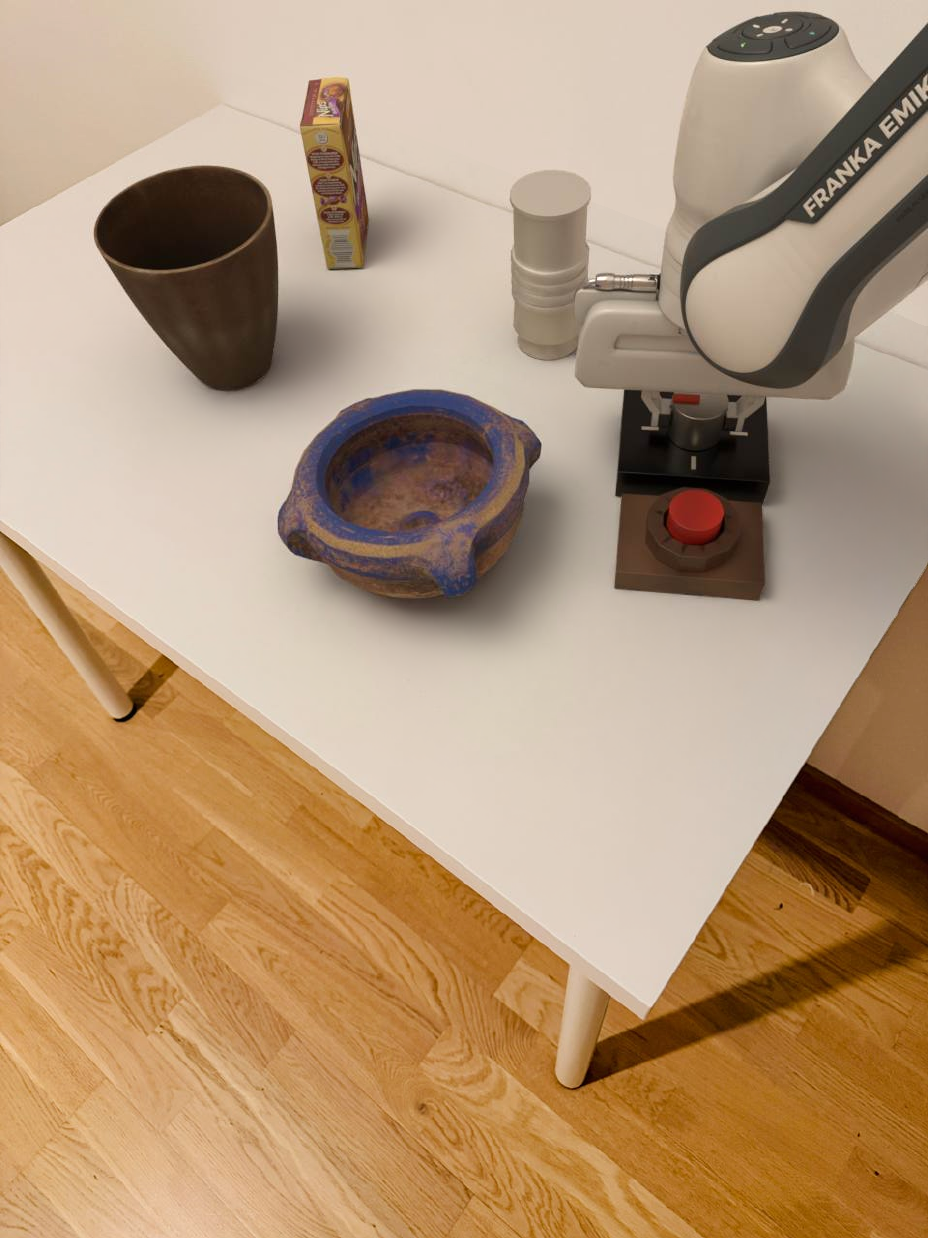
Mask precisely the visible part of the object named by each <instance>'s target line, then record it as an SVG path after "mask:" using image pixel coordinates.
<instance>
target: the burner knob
mask: <svg viewBox="0 0 928 1238" xmlns="http://www.w3.org/2000/svg"><path fill="white" fill-rule="evenodd" d="M727 408H728V397H727V395H720V394H700V393H681V392H674V394H673V397H672V403H671V417H670V423H669V428H667V433H668V436H669V438H670V440H671V441H672V442H673V443H674V444H676V445H677V446H679V447H681V448H683V449H686V450H692V451H701V450H706V449H709V448H711V447H713V446H714V445H715V444H716V443H717V442H718V441H719V440H720V437H721V434H722V429H723V425H724V421H725V416H726V412H727Z"/></svg>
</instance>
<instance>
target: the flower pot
mask: <svg viewBox="0 0 928 1238" xmlns="http://www.w3.org/2000/svg"><path fill="white" fill-rule="evenodd" d="M276 232H277V231H276V223H275V215H274V208H273V200H272V196H271V194H270V190H269V189H268V188H267V187H266V186H265V184H264V183H263V182H262V181H261V180H260V179H258V178H256V177H255V176H253V175H252V174H250V173H248V172H245V171H242V170H240V169H237V168H233V167H228V166H222V165H209V164H207V165H189V166H182V167H178V168H172V169H168V170H165V171H161V172H158V173H155V174H152V175H149V176H147V177H145V178H143V179H140V180H138V181H136V182H134V183H133V184H130V185H129V186H127V187H126V188H124V189H123V190H121V191H120V192H118V193H117V194H116V195H114V196H113V197H112V198H111V199H110V200H109V201H108V202H107V203H106V204H105V205H104V206H103V208H102V209H101V210H100V212H99V214H98V216H97V217H96V220H95V223H94V225H93V241H94V244H95V246H96V248H97V250H98V251H99V253H100V255H101V256H102V258H103V259H104V261H105V263H106V264H107V266H108V267H109V269H110V271H111V272H112V273H113V275H114V277H115V279H116V280H117V282H118V283H119V285H120V286H121V288H122V289H123V292H125V294H126V295H127V298H129V300H130V301H131V302H132V304H133V305H134V306H135V309H137V311H138V313H140V315H141V316H142V317H143V319H144V321H146V323H147V324H148V325H149V327H150V328H151V329H152V330H153V332H154V333H155V334H156V335H157V336H158V338H159V339H160V340H161V341H162V342H163V343H164V345H165V346H166V347H167V349H169V350H170V351H171V352H172V354H173V355H174V356H175V357H176V358H177V359H178V361H180V362H181V363H182V364H183V365H184V366H185V367H186V368H187V369H188V370H189V372H191V373H192V375H194V376H195V378H197V379H198V380H199V381H200V382H201V383H202V384H203V385H205V386H206V387H208V388H210V389H214V390H216V391H217V390H218V391H225V392H227V391H237V390H241V389H242V390H243V389H245V388H247V387H250V386H253V385H254V384H256V383H257V382H259V381H260V380H262V379H263V378H264V376H266V374H267V373H268V372H269V370H270V368H271V367H272V364H273V358H274V351H275V345H276V339H277V330H278V329H277V328H278V315H279V256H278V255H279V254H278V242H277V233H276Z"/></svg>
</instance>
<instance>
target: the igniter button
mask: <svg viewBox="0 0 928 1238" xmlns="http://www.w3.org/2000/svg"><path fill="white" fill-rule="evenodd" d="M723 516H724V509H723V506H722V504H721V502H720V501H719V500H718V499H717V498H716V497H715V496H713V495H712V494H710V493H708V492H705V491H700V490H689V491H685V492H682V493H680V494H678V495H677V496H675V497H674V498H673V500H672V501H671V503H670V506H669V512H668V517H667V528H668V530H669V532H670V534H671V535H672V536H673V537H674V538H675V539H677V540H678V541H680V542H682V543H685V544H689V545H702V544H706V543H708V542H710V541H712V540H713V539H714V538H715V537H716V536H717V535H718V533H719V531H720V527H721V523H722V520H723Z"/></svg>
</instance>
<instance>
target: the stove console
mask: <svg viewBox="0 0 928 1238" xmlns="http://www.w3.org/2000/svg"><path fill="white" fill-rule="evenodd" d="M641 392H642V390H623V397H622V406H621V417H620V418H621V419H620V430H619V441H618V442H619V443H618V453H617V456H618V457H617V465H616V467H617V469H616V480H615V491H614V496H615V497H620V498H621V497H622V493H625V494H640V495H654V496H661V495H662V494H665V493H668V492H671V491H673V490H676V489H679V488H683V487H688V488H703V489H708V490H710V491H712V492H714V493H716V494H718V495H720V496H722V497H724V498H727V500H729V501H743V502H758V503H762V507H763V506H764V503H765V500H766V496H767V494H768V492H769V491H768V490H769V487H770V484H771V469H770V446H769V445H770V444H769V443H770V442H769V422H768V421H769V420H768V419H769V418H768V400H767V399H768V397H765V400H764V404H763V405H762V406H761V407H760V408H758V409H757V410H756V411H755V412H753V413H752V414H751V415H750V416H749V417H747V418H745V420H744V424H743V428H742V431H741V432H733V431H723V429H722V434H721V437H720V440H719V441H718V442H717V443H716V444H715V445H714V446H713V447H711V448H709V449H706V450H701V451H692V450H686V449H683V448H681V447H679V446H677V445H676V444H674V443H673V442H672V441H671V440H670V438H669V436H668V433H667V428H663V427H651V416H652V413H651V412H650V410H649V409H648V407H647V406H646V404H645V403H644V401H643V400H642V398H641ZM659 394H660V396H661V398H664V399H672V397H673V394H674V392H661V391H660V393H659ZM727 397H728V402H737V401H738V400H739V399H740V398H741V397H742V396H740V395H727ZM671 403H672V402H671Z"/></svg>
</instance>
